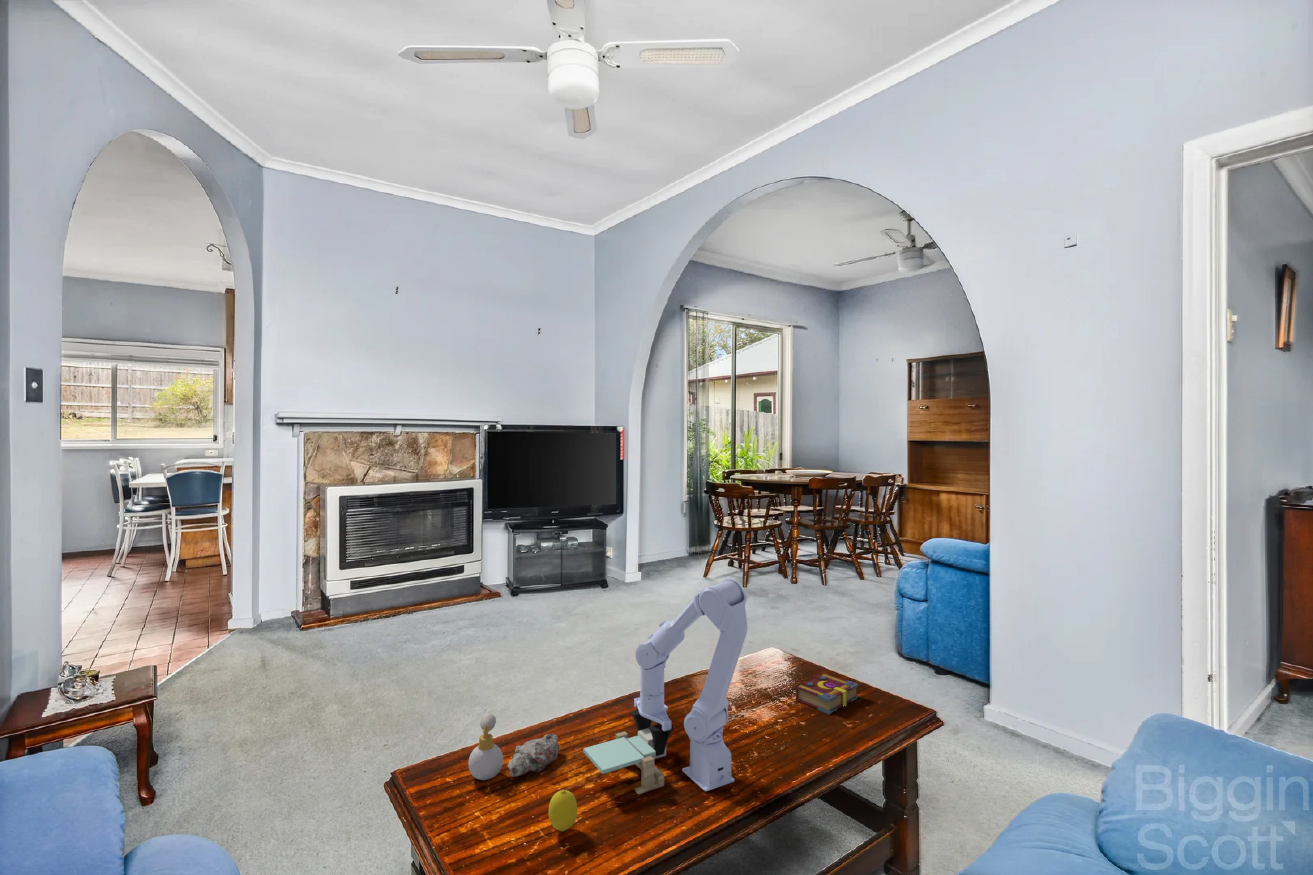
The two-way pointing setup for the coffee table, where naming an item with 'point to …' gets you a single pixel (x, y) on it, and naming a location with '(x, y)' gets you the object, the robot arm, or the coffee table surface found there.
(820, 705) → the decorative book
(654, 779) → the frame
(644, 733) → the white cube
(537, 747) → the mineral rock
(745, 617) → the robot arm
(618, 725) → the coffee table surface
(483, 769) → the perfume bottle
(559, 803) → the lemon
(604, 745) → the trapdoor
